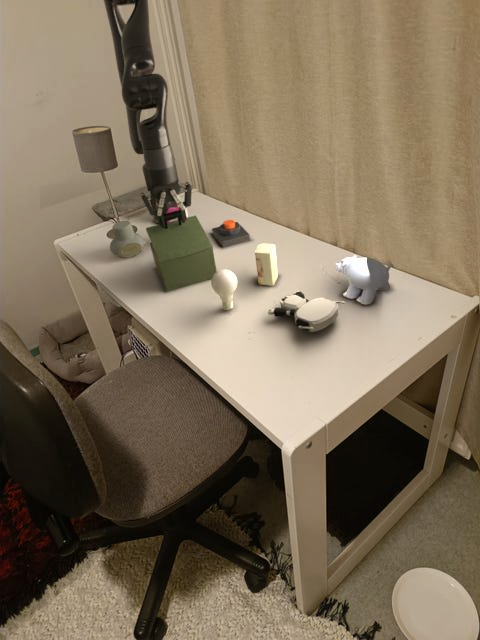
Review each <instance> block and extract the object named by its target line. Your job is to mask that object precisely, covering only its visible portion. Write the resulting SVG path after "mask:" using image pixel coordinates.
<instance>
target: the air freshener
mask: <svg viewBox="0 0 480 640" xmlns="http://www.w3.org/2000/svg"><path fill="white" fill-rule="evenodd" d="M112 232H113V234H114V237H113V239H112V240H111V241H110V244H109V249H110V251H111V253H112V254H114V255H115V256H116V257H119V258H132V257H135V256H137V255H138V254H139V253H141V252H142V251H143V249H144V248H145V245H146V241H145V238H144V237H143V236H142V235H141V234H139V233H137V232H135V231H134V228H133V225H132V222H131V221H129V220H120V221H117V222H115V223H114V224H113V225H112Z"/></svg>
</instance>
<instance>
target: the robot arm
mask: <svg viewBox="0 0 480 640" xmlns="http://www.w3.org/2000/svg"><path fill="white" fill-rule="evenodd" d="M103 5H104V7H105V12H106V16H107V20H108V24H109V28H110V33H111V37H112V38H111V39H112V44H113V49H114V55H115V62H116V67H117V73H118V78H119V82H120V86H121V97H122V101H123V104H124V105H125V110H126V117H127V118H126V119H127V125H128V127H127V128H128V133H129V140H130V143H131V147H132V150H133V152H134V153H135V154H137V155H142V156H143V161H144V163H143V165H142V173H143V178H144V182H145V187H146V189H147V191H146V192H141V193H140V198H141V200H142V201H143V204H144V205H145V207H146V210H147V211H148V213H149V215H150V216H152V217H153V219H154V223H156V224H157V225H160V226H162V227H163V228H165V223H164V218H163V215H162V214H165V213H167V211H168V209H169V208H172V207H179V210H180V212H181V221H182V223H185V220H186V219H187V217H186V212H185V209H186V208H189V207H191V205H192V192H193V191H192V189H193V186H192V184H191V183H190V182H188V181H186V182H184V183H183V182H182V183H181V182H180V180H179V175H178V170H177V165H176V157H175V154H174V150H173V147H172V144H171V138H170V134H169V129H168V117H167V113H168V112H167V111H168V101H169V99H168V98H169V88H168V82H167V80H166V79H165V78H164V76H163V75H161V74H160V73H155V72H154V71H155V69H156V62H155V55H154V49H153V45H152V40H151V31H150V29H151V28H150V10H149V0H103ZM121 6H134V7H133V10H132V11H131V14H130V16H129V18H128V19H127V21H126V22H125V20H124V19H123V16H122V15H121V11H120V10H119V7H121ZM151 109H156V110H155V113H154V114H153V115H152V116H151V117H148V118H145V119H143V120H141V115H142V112H143V111H144V110H151ZM181 190H182V191H183V192H184V200H183V202H182V200H181V198H180V197H179V195H180V193H181Z"/></svg>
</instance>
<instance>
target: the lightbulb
mask: <svg viewBox="0 0 480 640" xmlns="http://www.w3.org/2000/svg"><path fill="white" fill-rule="evenodd" d="M216 271H217V272H216V273H215V274H214V275H213V277H212V279H210V280H211V282H210V283H211V288H212V290H213V291H214V293H215V294H216V295H218V297H219V299H220V301H221V304H222V309H224V310H227V311H229V310H232V309H233V308H234V301H233V300H234V294H235V292H236V290H237V287H238V277H237V276H236V274H235V273H234V271H231V270H229V269H226V268H224V269H223V268H222V269H219V270H216Z"/></svg>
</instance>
